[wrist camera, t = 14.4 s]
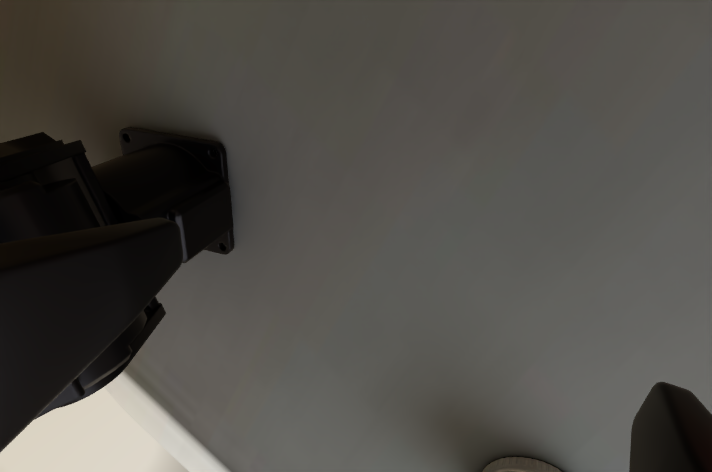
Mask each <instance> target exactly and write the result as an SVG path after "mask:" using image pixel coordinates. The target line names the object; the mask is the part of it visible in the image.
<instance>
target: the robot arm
mask: <svg viewBox="0 0 712 472" xmlns="http://www.w3.org/2000/svg"><path fill="white" fill-rule="evenodd" d="M128 135H129V136H130V138H129V136H128ZM119 137H120V142H121V147H122V152H123V156H120V157H118V158H115V159H112V160H109V161H107V162H104V163H101V164H99V165H96V166H93V167H91V165H90V163H89V161H88V159H87V157H86V155H85V152H86V150H85V148H84V146H83V144H82V142H81V140H78V141H75V142H71V143H68V144H65V145H64V143H63V141H62V140H59V141H55V140H54V139H52V138H51V137H49V136H48V135H47V134H45V133H44V132H41V133H38V134H34V135H30V136H26V137H23V138H19V139H15V140H11V141H7V142H3V143H0V452H1V451H2V450H3V449H4V448H5V447H6V446H7V445H8V444H9V443H10V442H11V441H12V440H13V439H14V438H15V437H16V436H18V434H20V432H22V431H23V430H24V429H25V428H26V427H27V425H29V424H30V423H31V422H32V421H33V420H34V419H36V418H38V417H40V416H42V415H44V414H45V413H47V412H49V411H51V410H53V409H56V408H59V407H63V406H66V405H69V404H72V403H75V402H77V401H79V400H81V399H83V398H86V397H88V396H90V395H91V394H93V393H95V392H96V391H98V390H100V389H101V388H103V387H104V386H106V385H107V384H108V383H110V382H111V381H112V380H114V379H115V378H116V377H117V376H118V375H119V374H120V373H121V372H122V371H123V370H124V369H125V368H126V367H127V366H128V364H129V363H130V361H131V360H132V359H133V357H134V356H135V355H136V353H137V352H138V351H139V349H140V348H141V347H142V345H143V344H144V343H145V341H146V340H147V339H148V337H149V336H150V334H151V333H152V332H153V330H154V329H155V328H156V326H157V325H158V324H159V322H160V321H161V320H162V318H163V317H164V316H165V314H166V312H165V310H164V308H163V306H162V304H161V303H158V301H157V299H156V297H155V296H156V295H157V293H158V292H159V291H160V290H161V289H162V287H163V286H164V285H165V284H166V283H167V282H168V280H169V279H170V278H171V277H172V276H173V274H174V273H175V272H176V271H177V270H178V268H179V267H180V266H181V264H182V263H186V262H188V261H189V260H190V259H192V258H193V257H194V256H196V255H197V254H198V253H200V252H201V251H202V250H208V251H212V252H216V253H220V254H228V253H230V252H231V251H232V250H233V249H234V238H233V218H232V207H231V195H230V187H229V181H228V170H227V159H226V151H225V148H224V146H223V145H222V144H221V143H219V142H216V141H210V140H204V139H198V138H192V137H186V136H180V135H174V134H168V133H162V132H156V131H150V130H144V129H138V128H132V127H128V128H124V129H122V130H121V131H120V133H119ZM213 149H215V150H216V151H217V155H216V154H215V153H214V151H213ZM223 243H224V244H225V245H226V247H225V246H224V245H223ZM629 472H712V414H711V413H710V412H709V411H708V410H707V409H706V408H705V407H704V405H703V404H702V403H701V402H700V401H699V400H698V399H697V397H696V396H695V395H694V394H693V393H692V392H690V391H689V390H687V389H684V388H681V387H678V386H675V385H672V384H669V383H665V382H658V383H656V384H655V385H654V386H653V388H652V389H651V391H650V393H649V394H648V396H647V398H646V399H645V401H644V403H643V404H642V406H641V408H640V409H639V411H638V413H637V414H636V416H635V419H634V421H633V425H632V432H631V450H630V470H629Z"/></svg>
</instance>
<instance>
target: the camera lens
mask: <svg viewBox="0 0 712 472" xmlns="http://www.w3.org/2000/svg"><path fill="white" fill-rule="evenodd" d="M483 472H562V471H560V470H559V469H558V468H556V467H553V466H552V465H550V464H547V463H545V462H543V461H538V460H536V459H531V458H524V457H506V458H501V459H499V460H495V461H494V462H491V463H490V464H489V465H487V466H486V468H484V470H483Z"/></svg>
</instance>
